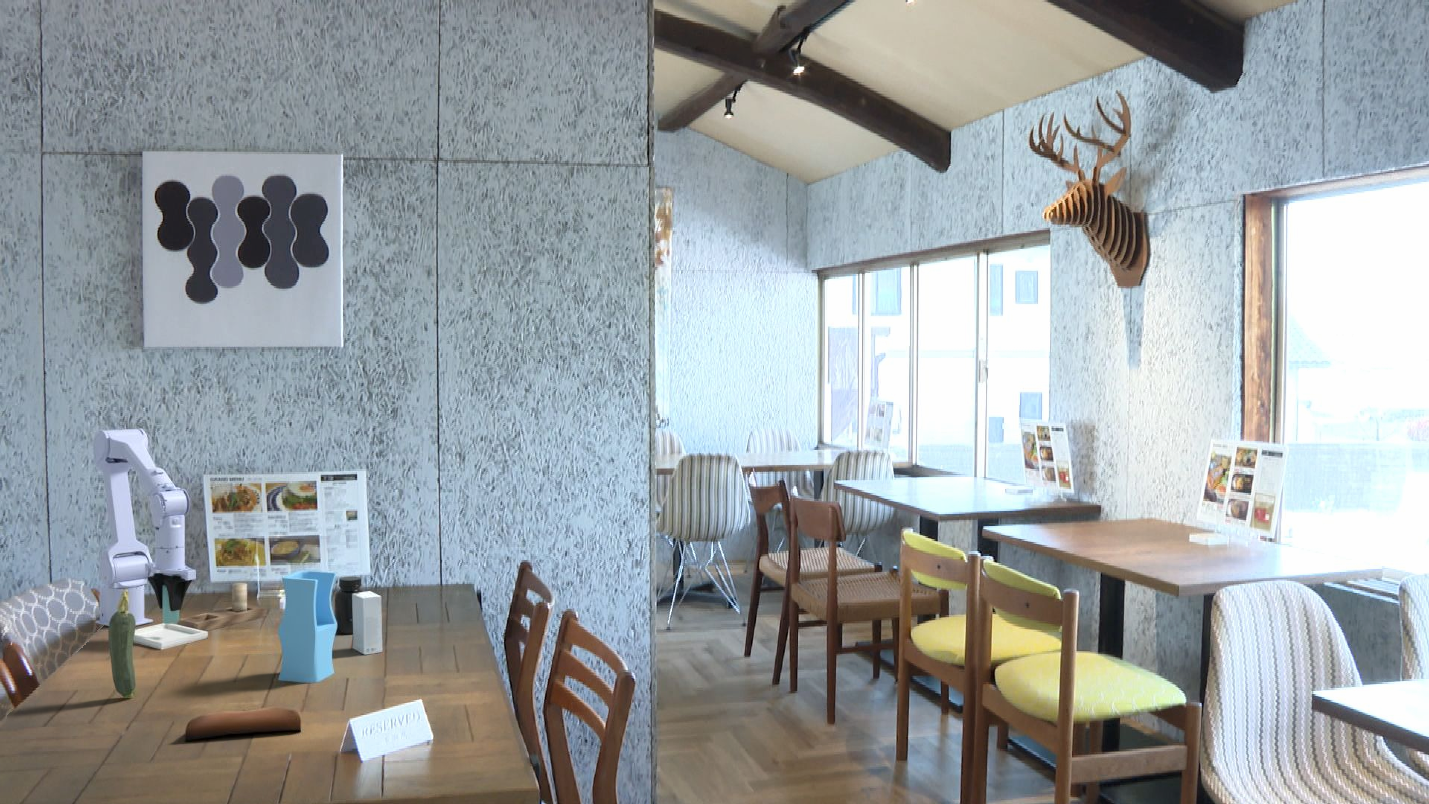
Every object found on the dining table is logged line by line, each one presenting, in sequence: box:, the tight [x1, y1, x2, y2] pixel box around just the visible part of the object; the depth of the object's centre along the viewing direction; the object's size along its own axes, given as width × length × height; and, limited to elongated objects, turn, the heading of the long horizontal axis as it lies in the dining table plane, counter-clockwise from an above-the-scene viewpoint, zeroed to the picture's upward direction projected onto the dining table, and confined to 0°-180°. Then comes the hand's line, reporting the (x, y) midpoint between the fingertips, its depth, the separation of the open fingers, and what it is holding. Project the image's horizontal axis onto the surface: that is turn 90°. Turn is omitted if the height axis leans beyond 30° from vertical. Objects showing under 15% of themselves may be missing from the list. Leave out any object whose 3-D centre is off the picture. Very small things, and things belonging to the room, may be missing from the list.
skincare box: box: [352, 590, 383, 655], centre depth 240 cm, size 6×4×12 cm
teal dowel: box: [162, 585, 180, 624], centre depth 244 cm, size 3×3×8 cm
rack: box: [177, 603, 267, 632], centre depth 261 cm, size 18×7×2 cm, turn 150°
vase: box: [277, 569, 338, 684], centre depth 222 cm, size 8×8×20 cm
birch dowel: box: [231, 582, 248, 613], centre depth 264 cm, size 3×3×8 cm
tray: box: [133, 622, 209, 651], centre depth 246 cm, size 14×11×1 cm
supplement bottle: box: [333, 576, 365, 635], centre depth 256 cm, size 7×7×12 cm
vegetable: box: [107, 589, 136, 700], centre depth 205 cm, size 4×4×20 cm
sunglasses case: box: [184, 706, 302, 742], centre depth 192 cm, size 18×7×7 cm
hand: (170, 609), depth 244 cm, fingers closed on teal dowel, 3 cm apart
